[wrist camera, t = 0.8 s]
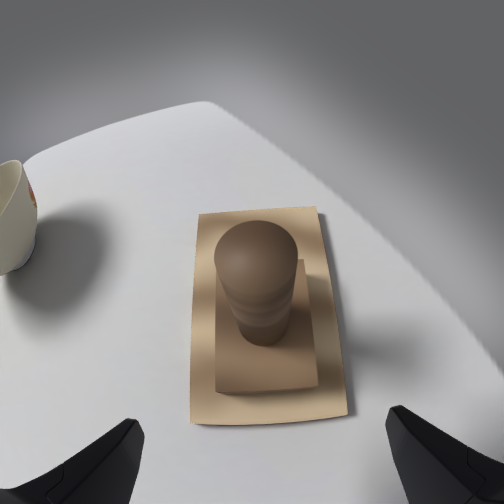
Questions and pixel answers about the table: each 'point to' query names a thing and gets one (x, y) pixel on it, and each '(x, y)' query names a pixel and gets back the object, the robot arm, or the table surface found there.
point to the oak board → (323, 322)
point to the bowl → (16, 217)
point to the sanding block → (262, 313)
